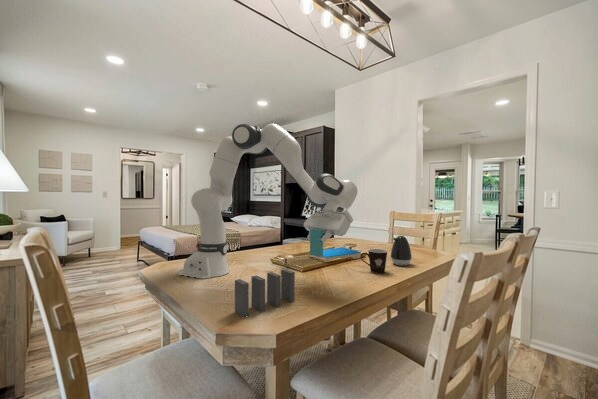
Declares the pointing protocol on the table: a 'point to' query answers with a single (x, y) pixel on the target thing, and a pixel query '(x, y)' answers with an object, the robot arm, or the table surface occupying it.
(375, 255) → the coffee mug
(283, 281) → the domino
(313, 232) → the domino
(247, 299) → the domino
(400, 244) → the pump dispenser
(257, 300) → the domino
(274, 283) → the domino
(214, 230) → the robot arm
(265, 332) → the table surface
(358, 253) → the book
